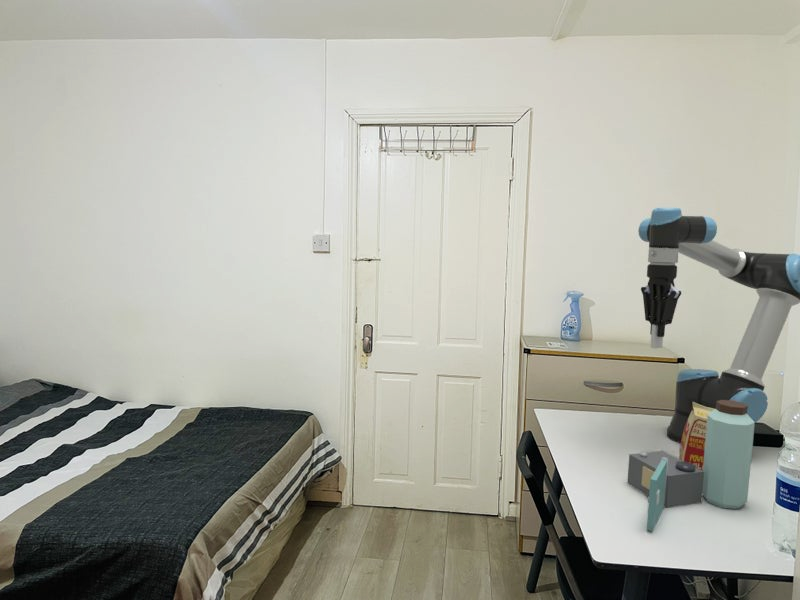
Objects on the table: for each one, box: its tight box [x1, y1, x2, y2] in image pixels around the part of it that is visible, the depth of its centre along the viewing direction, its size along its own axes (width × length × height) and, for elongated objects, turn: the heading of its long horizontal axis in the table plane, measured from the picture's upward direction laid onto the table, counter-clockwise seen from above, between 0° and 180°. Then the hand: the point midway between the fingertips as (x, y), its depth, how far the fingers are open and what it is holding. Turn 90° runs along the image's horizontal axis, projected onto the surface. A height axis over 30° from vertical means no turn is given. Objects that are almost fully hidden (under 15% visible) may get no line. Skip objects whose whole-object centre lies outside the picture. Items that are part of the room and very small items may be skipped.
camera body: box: [626, 450, 704, 508], centre depth 143 cm, size 11×14×9 cm
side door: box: [646, 457, 668, 532], centre depth 129 cm, size 15×2×12 cm, turn 146°
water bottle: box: [702, 400, 756, 510], centre depth 138 cm, size 10×10×25 cm
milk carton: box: [678, 402, 714, 471], centre depth 156 cm, size 9×9×20 cm
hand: (656, 347), depth 158 cm, fingers closed
